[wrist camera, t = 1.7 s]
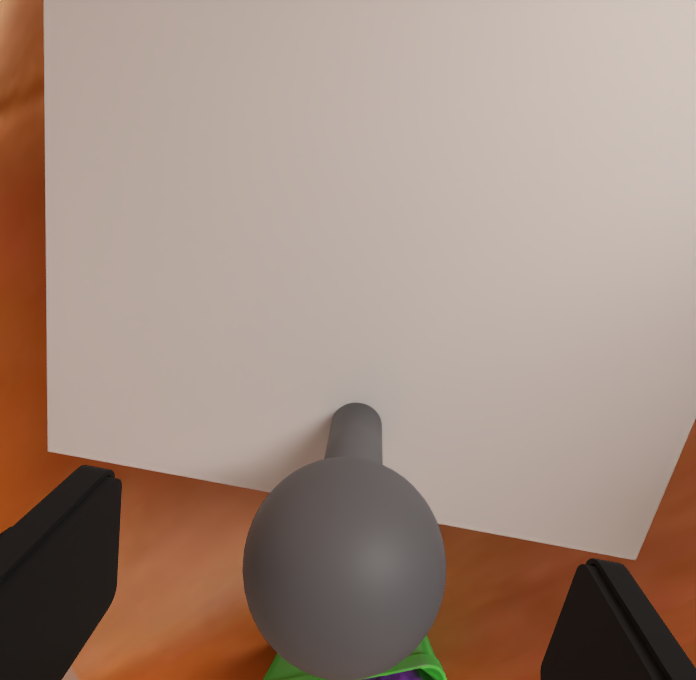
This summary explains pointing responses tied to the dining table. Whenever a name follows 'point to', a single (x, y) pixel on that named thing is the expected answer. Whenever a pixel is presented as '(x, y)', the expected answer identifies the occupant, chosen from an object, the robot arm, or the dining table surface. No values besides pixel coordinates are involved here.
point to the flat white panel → (376, 280)
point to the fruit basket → (407, 676)
